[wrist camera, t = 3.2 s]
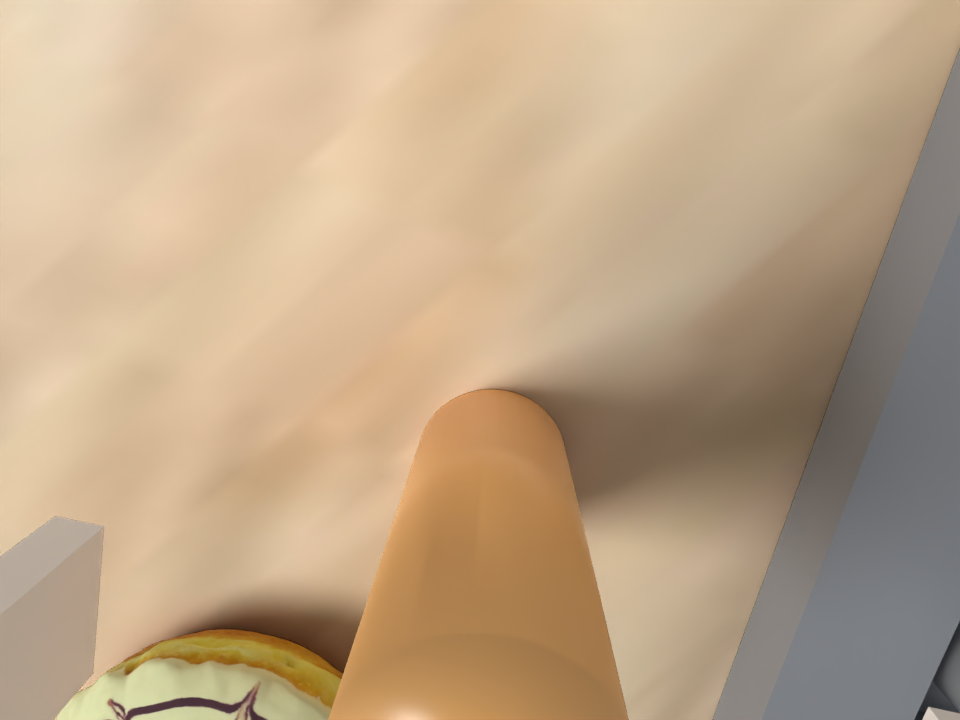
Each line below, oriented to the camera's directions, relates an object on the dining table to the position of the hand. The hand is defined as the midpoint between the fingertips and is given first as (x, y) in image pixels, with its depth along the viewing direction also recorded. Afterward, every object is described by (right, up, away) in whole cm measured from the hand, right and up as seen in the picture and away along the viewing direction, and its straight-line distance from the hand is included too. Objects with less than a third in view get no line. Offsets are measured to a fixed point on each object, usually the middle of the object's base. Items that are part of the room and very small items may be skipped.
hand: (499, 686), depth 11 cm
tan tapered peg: (0, +2, +9) cm, 10 cm away
